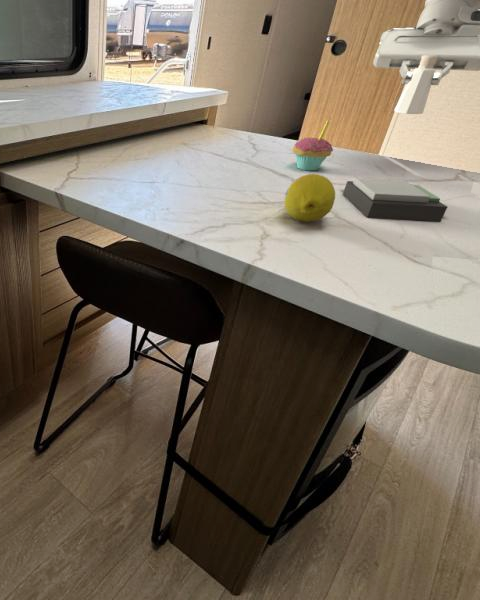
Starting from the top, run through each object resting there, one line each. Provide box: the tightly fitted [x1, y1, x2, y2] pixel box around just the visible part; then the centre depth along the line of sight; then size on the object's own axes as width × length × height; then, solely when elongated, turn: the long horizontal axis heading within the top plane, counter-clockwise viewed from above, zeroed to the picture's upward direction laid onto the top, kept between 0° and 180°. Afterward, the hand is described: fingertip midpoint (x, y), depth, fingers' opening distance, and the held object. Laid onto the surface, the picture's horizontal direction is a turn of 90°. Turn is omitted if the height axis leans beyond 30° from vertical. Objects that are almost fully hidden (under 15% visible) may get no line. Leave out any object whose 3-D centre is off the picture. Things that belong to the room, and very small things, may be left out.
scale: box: [342, 177, 448, 223], centre depth 79 cm, size 12×13×4 cm
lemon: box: [284, 173, 336, 223], centre depth 72 cm, size 11×8×8 cm
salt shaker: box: [394, 55, 438, 115], centre depth 90 cm, size 5×5×11 cm
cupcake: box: [291, 116, 334, 172], centre depth 99 cm, size 9×8×12 cm
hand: (420, 82), depth 89 cm, fingers closed on salt shaker, 4 cm apart
